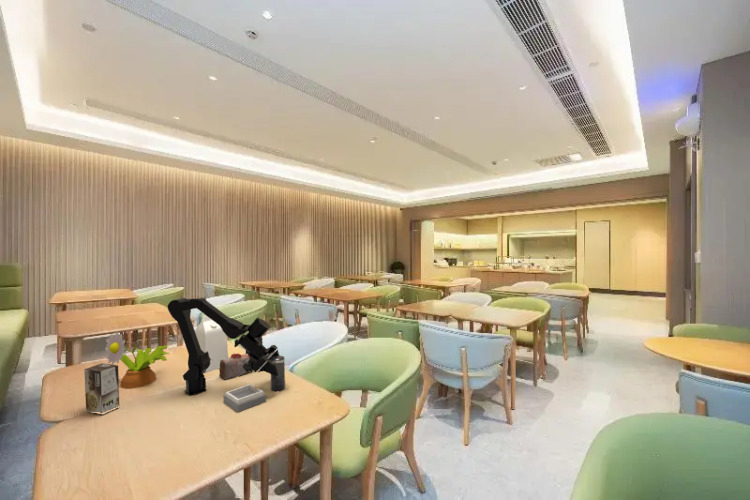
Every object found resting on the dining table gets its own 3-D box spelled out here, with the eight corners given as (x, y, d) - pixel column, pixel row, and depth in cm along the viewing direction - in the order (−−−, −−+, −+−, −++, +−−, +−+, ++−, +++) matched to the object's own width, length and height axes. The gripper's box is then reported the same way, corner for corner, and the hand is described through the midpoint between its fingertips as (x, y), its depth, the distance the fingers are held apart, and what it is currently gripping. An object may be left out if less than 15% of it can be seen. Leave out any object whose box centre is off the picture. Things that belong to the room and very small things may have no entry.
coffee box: (120, 407, 128) (119, 365, 127) (101, 416, 122) (100, 371, 121) (103, 404, 131) (102, 362, 130) (84, 412, 125) (83, 368, 124)
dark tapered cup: (275, 393, 138) (274, 361, 138) (268, 389, 142) (267, 358, 142) (287, 388, 142) (287, 357, 142) (280, 384, 146) (279, 354, 146)
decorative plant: (93, 388, 146) (91, 330, 146) (149, 368, 168) (147, 318, 168) (135, 397, 136) (133, 335, 136) (188, 375, 158) (187, 322, 158)
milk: (216, 361, 178) (215, 311, 178) (228, 365, 171) (227, 314, 171) (193, 368, 168) (191, 315, 168) (205, 373, 162) (203, 318, 161)
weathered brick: (246, 368, 167) (245, 348, 167) (254, 372, 162) (254, 351, 161) (218, 377, 157) (217, 355, 156) (226, 381, 151) (225, 359, 151)
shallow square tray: (237, 412, 123) (237, 400, 122) (223, 402, 131) (223, 391, 131) (265, 401, 131) (265, 390, 131) (250, 392, 139) (250, 382, 139)
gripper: (247, 352, 151) (272, 376, 151) (230, 368, 132) (260, 395, 133) (264, 334, 151) (290, 358, 152) (250, 347, 132) (279, 374, 133)
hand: (280, 371), depth 142 cm, fingers open, 9 cm apart
